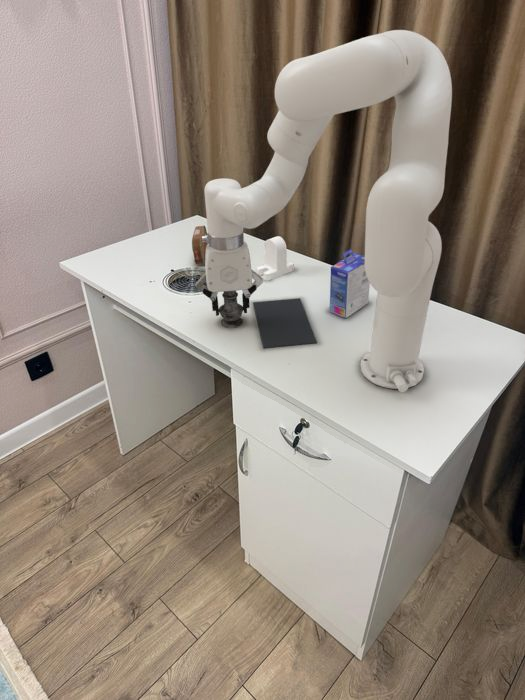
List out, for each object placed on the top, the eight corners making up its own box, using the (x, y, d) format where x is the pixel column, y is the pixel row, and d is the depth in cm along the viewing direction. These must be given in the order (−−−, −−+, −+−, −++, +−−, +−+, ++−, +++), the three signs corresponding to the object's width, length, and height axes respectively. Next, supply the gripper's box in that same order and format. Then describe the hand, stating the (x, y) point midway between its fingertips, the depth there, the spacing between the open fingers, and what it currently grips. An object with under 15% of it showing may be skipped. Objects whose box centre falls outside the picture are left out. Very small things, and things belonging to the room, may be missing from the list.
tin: (204, 269, 145) (201, 241, 140) (193, 269, 145) (190, 241, 140) (209, 247, 157) (207, 221, 152) (199, 247, 157) (196, 221, 152)
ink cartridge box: (350, 296, 130) (355, 243, 122) (369, 303, 127) (375, 249, 119) (327, 311, 124) (330, 256, 116) (345, 319, 121) (350, 263, 113)
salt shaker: (241, 329, 119) (238, 283, 112) (216, 327, 120) (212, 281, 113) (246, 316, 123) (244, 271, 116) (223, 314, 124) (219, 270, 117)
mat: (316, 343, 113) (317, 342, 113) (263, 348, 112) (263, 347, 112) (300, 299, 130) (300, 298, 129) (253, 303, 128) (253, 302, 128)
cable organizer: (294, 270, 143) (295, 236, 137) (267, 281, 138) (266, 246, 132) (282, 263, 146) (282, 230, 140) (255, 274, 141) (254, 240, 136)
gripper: (186, 249, 105) (194, 323, 116) (268, 243, 107) (269, 316, 117) (185, 235, 112) (194, 306, 122) (263, 229, 113) (265, 300, 124)
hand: (231, 311), depth 120 cm, fingers closed on salt shaker, 5 cm apart
